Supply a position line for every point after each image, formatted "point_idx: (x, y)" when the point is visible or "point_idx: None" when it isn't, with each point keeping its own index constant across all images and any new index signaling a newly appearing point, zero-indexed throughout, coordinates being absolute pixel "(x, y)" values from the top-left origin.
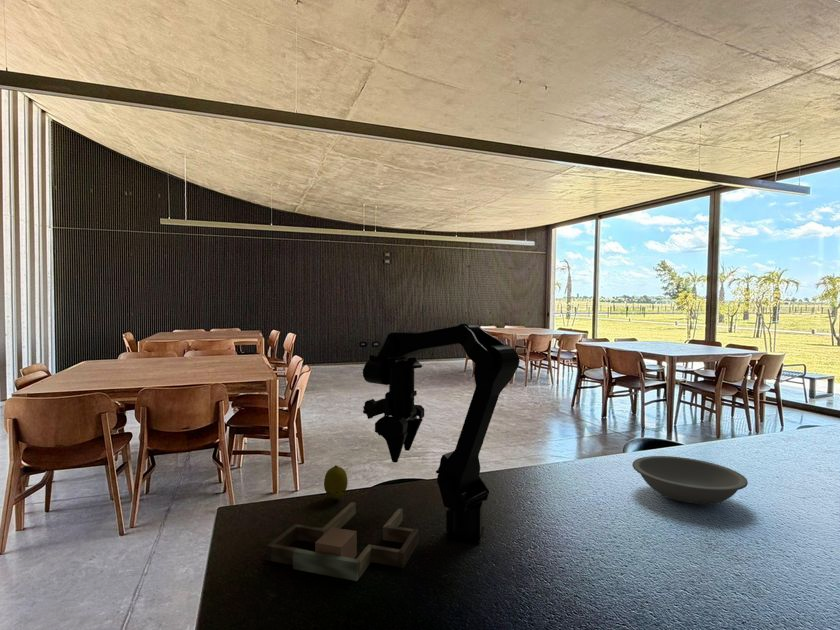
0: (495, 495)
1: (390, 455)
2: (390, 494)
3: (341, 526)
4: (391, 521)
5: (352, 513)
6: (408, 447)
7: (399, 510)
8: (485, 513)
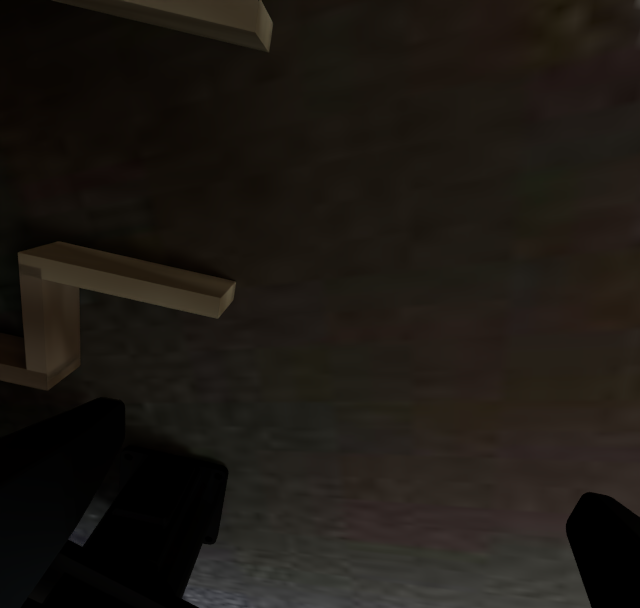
0: (486, 593)
1: (9, 434)
2: (534, 207)
3: (100, 11)
4: (81, 282)
5: (224, 37)
6: (588, 558)
7: (198, 305)
8: (334, 551)
